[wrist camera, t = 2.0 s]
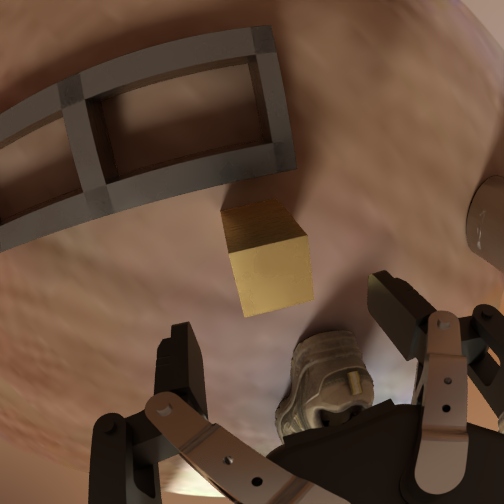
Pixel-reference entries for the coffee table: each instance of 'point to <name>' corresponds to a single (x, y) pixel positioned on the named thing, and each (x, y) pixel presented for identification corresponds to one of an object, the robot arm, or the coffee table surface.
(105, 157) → the dark grey rectangular tray
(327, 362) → the hiking shoe
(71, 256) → the coffee table surface
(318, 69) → the coffee table surface
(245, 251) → the block
